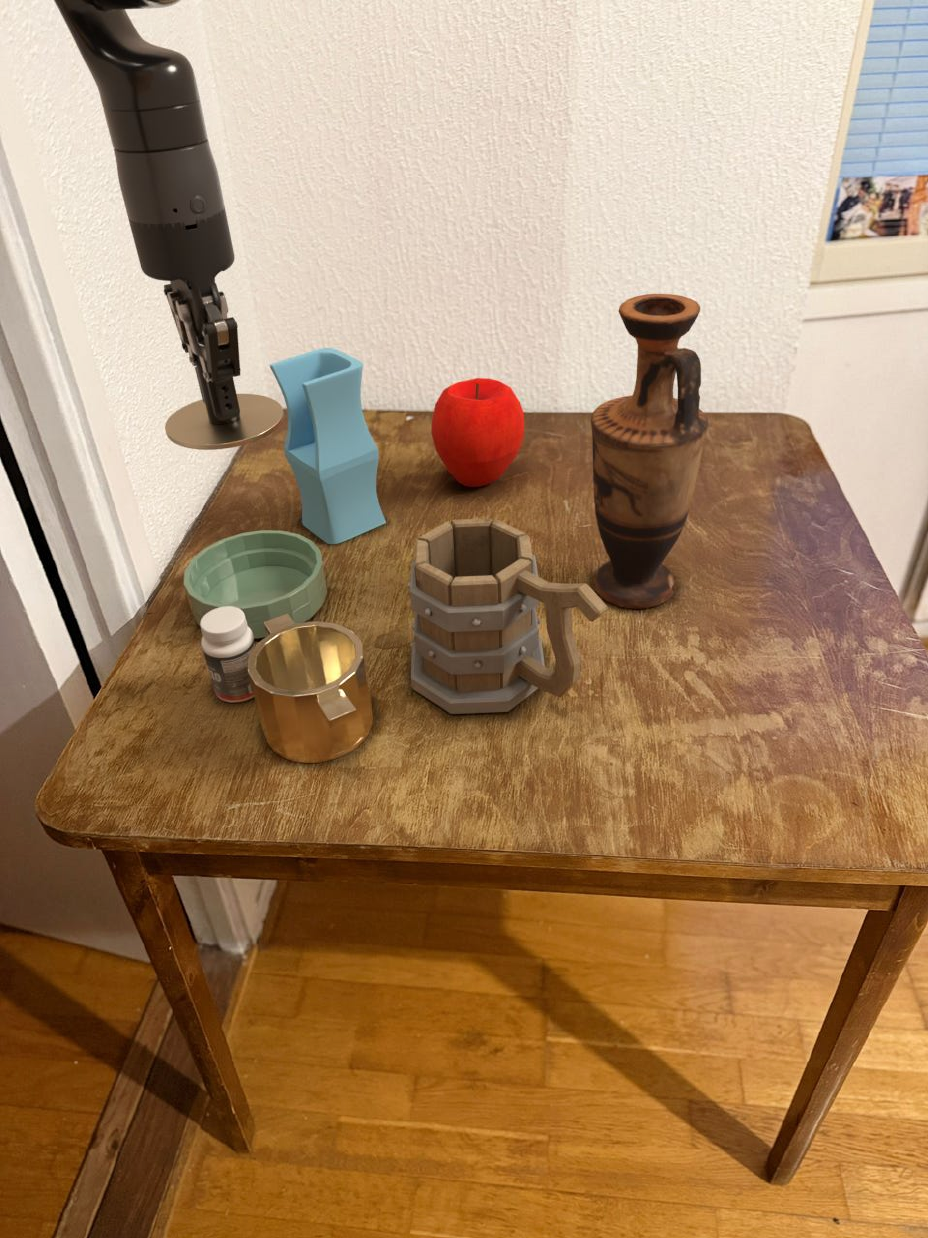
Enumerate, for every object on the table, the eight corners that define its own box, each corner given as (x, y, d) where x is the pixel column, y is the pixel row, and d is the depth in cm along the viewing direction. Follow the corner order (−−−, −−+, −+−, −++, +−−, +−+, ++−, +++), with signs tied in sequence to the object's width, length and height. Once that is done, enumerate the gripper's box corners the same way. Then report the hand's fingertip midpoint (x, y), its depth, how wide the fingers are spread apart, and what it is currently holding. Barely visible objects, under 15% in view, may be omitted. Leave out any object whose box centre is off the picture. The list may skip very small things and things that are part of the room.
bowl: (217, 660, 88) (207, 625, 86) (177, 589, 98) (167, 556, 96) (348, 612, 94) (343, 577, 91) (298, 549, 104) (292, 516, 101)
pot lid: (186, 467, 76) (167, 395, 72) (154, 422, 84) (135, 354, 79) (302, 435, 80) (290, 364, 76) (262, 394, 87) (249, 328, 83)
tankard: (385, 673, 86) (369, 543, 76) (475, 612, 93) (469, 487, 83) (544, 777, 74) (547, 639, 65) (632, 699, 81) (646, 565, 72)
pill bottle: (210, 680, 86) (190, 612, 81) (257, 665, 87) (241, 597, 82) (221, 710, 83) (200, 641, 77) (270, 694, 84) (253, 625, 79)
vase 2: (562, 579, 97) (571, 303, 78) (638, 547, 101) (663, 278, 83) (628, 630, 89) (655, 338, 71) (706, 593, 94) (751, 308, 75)
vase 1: (297, 521, 109) (268, 364, 97) (351, 498, 113) (329, 345, 100) (331, 547, 104) (305, 385, 92) (386, 523, 108) (368, 364, 95)
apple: (495, 514, 108) (492, 412, 100) (416, 491, 113) (407, 393, 105) (540, 472, 116) (541, 374, 108) (464, 453, 121) (459, 358, 113)
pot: (300, 800, 74) (284, 732, 69) (240, 695, 84) (222, 629, 79) (404, 753, 77) (396, 685, 72) (335, 658, 88) (323, 593, 83)
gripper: (108, 198, 73) (161, 394, 84) (150, 234, 64) (204, 451, 74) (196, 184, 76) (237, 375, 87) (250, 216, 66) (288, 428, 77)
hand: (222, 409), depth 81 cm, fingers closed on pot lid, 3 cm apart
